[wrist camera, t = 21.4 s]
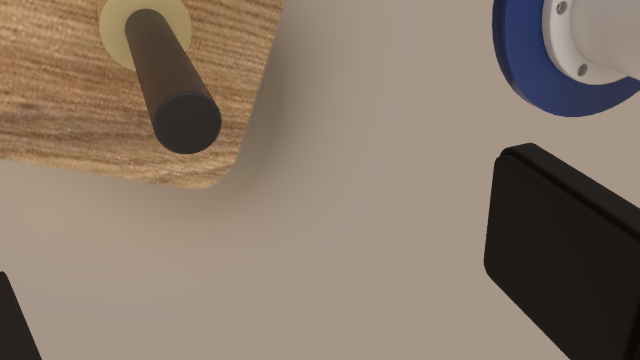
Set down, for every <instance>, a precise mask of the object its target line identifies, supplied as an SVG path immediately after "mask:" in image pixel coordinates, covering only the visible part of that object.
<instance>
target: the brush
mask: <svg viewBox="0 0 640 360" xmlns="http://www.w3.org/2000/svg"><path fill="white" fill-rule="evenodd" d="M97 18H98V25H99V32H100V37H101V40H102V43H103V45H104V47H105V49H106V51H107V52H108V54H109V55H110V56H111V57H112V58H113V59H114V60H115V61H116V62H117V63H118V64H120V65H121V66H123V67H125V68H126V69H129V70H131V71H134V72H137V75H138V79H139V82H140V85H141V89H142V92H143V96H144V99H145V102H146V106H147V109H148V112H149V116H150V119H151V123H152V126H153V129H154V133H155V135H156V138H157V139H158V141H159V142H160V143H161V144H162V145H163V146H164V147H165V148H167V149H168V150H170V151H172V152H175V153H179V154H194V153H198V152H200V151H203V150H205V149H206V148H208V147H209V146H210V145H211V144H212V143H213V142H214V141H215V140H216V138H217V137H218V135H219V132H220V130H221V124H222V119H221V113H220V111H219V108H218V107H217V105H216V103H215V101H214V100H213V98H212V96H211V95H210V93H209V91H208V90H207V88H206V86H205V85H204V83H203V81H202V80H201V78H200V76H199V75H198V73H197V71H196V70H195V68H194V66H193V64H192V63H191V61H190V59H189V58H188V56H187V54H186V52H187V51H188V48H189V46H190V43H191V39H192V22H191V18H190V15H189V13H188V11H187V9H186V7H185V5H184V4H183V3H182V1H181V0H97Z"/></svg>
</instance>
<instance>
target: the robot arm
mask: <svg viewBox="0 0 640 360" xmlns="http://www.w3.org/2000/svg"><path fill="white" fill-rule="evenodd" d="M542 33H543V40H544V45H545V48H546V50H547V53H548V56H549V58H550V59H551V61H552V62H553V64H554V65H555V67H556V68H557V69H558V70H559V71H561V72H562V73H563V74H564V75H565V76H568V77H570V78H572V79H574V80H576V81H578V82H582V83H585V84H589V85H602V84H607V83H612V82H615V81H618V80H620V79H622V78H625V77H627V76H629V77H632V78H635V79H637V80H640V0H544V4H543V10H542ZM484 267H485V270H486V272H487V274H488V276H489V277H490V278H491V279H492V280H493V281H494V282H495V283H496V284H497V285H498V286H499V287H500V288H501V289H502V290H503V291H504V292H505V293H506V294H507V296H508V297H509V298H510V299H511V300H512V301H513V302H514V303H515V304H516V305H517V306H518V307H519V308H520V309H521V310H522V311H523V312H524V313H525V314H526V315H527V316H528V317H529V318H530V319H531V320H532V321H533V322H534V323H535V324H536V325H537V326H538V327H539V328H540V329H541V330H542V331H543V332H544V333H545V334H546V335H547V336H548V337H549V338H550V339H551V341H553V343H555V345H557V346H558V348H559V349H560V350H561V351H562V352H564V354H565V355H566V356H567V357H568V358H569V359H570V360H640V209H639V208H638V207H636V206H635V205H633V204H632V203H630V202H628V201H627V200H625V199H623V198H622V197H620V196H619V195H617V194H615V193H614V192H612V191H610V190H608V189H607V188H605V187H604V186H602V185H601V184H599V183H597V182H596V181H594V180H593V179H591V178H589V177H588V176H586V175H584V174H583V173H581V172H580V171H578V170H576V169H575V168H573V167H571V166H570V165H568V164H567V163H565V162H563V161H562V160H560V159H558V158H557V157H555V156H554V155H552V154H550V153H549V152H547V151H545V150H544V149H542V148H541V147H539V146H537V145H536V144H533V143H526V144H521V145H517V146H512V147H509V148H505V149H504V150H503V151H502V152H501V154H500V156H499V157H498V158H497V159H496V161H495V164H494V171H493V180H492V189H491V198H490V208H489V217H488V225H487V234H486V244H485V253H484ZM0 360H42V359H41V356H40V354H39V352H38V349H37V347H36V344H35V342H34V340H33V337H32V335H31V332H30V330H29V327H28V325H27V323H26V320H25V318H24V315H23V313H22V311H21V308H20V306H19V303H18V301H17V299H16V296H15V294H14V292H13V289H12V287H11V284H10V282H9V280H8V277H7V275H6V274H5V273H4V272H3V271H1V272H0Z"/></svg>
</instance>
